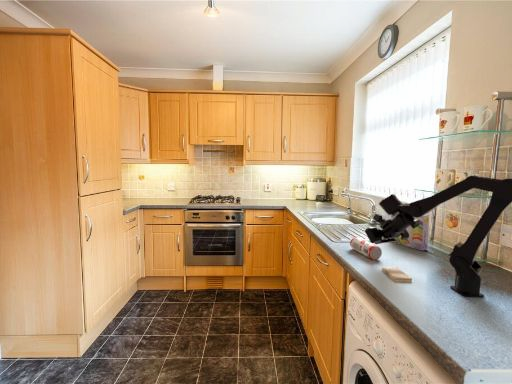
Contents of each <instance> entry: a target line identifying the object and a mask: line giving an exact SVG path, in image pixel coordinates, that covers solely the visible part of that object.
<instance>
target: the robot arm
mask: <svg viewBox="0 0 512 384" xmlns="http://www.w3.org/2000/svg"><path fill="white" fill-rule="evenodd" d="M473 189H477V190H482V191H484V192H485V191H486V192H489V193H491V197H490V200H489V204H488V205H487V207H486V209H485V211H484V212H483V214H482V215H481V217H480V218H479V220H478V221H477V223H476V225H475V226H474V227H473V229H472V231H471V232H470V234H469V235H468V237H467V238H466V240H465V241H464V242H463V243H462V242H461V241H458V242H457V243H456V244H454V246H453V249H452V251H451V252H450V253H448V256H449V259H448V260H449V263H450V265H451V266H452V268H454V271H455V276H454V278H455V279H454V285H450V286H449V287H450V288H451V289H452V290H454V291H455V292H457V293H458V294H460V295H461V296H463V297H467V298H468V297H471V298H484V297H485V294H483V293H481V283H482V277H481V276H480V274H481V272H482V271H483V269H484V268H483V267H484V266H483V267H482V265H481V264H480V263H479V262H478V261H477V257H478V254H479V250H480V247H481V245H482V244H483V242H484V241H485V239H486V238H487V236H488V235H489V233H490V232H491V231H492V229H493V227H494V226H495V224H496V223H497V222H498V220H499V219H500V217H501V215H502V214H503V213H504V211H505V210H506V209H507V207H508V206H510V205H511V204H512V177H507V178H503V179H499V178H494V177H484V176H480V175H477V174H475V175H474V174H473V175H469V176H467V177H465V178H464V179H462V180H460V181H458V182H457V183H454V184H453V185H451V186H449V187H447V188H444V189H443V190H441V191H439V192H437V193H435V194H433V195H431V196H428V197H426V198H425V197H424V198H421V199H418V200H415V201H412V202H410V203H402V201H401V200H400V199H398V197H397V196H396V194H394V193H392V194H390V195H389V196H387V197H385V198H384V199H382V200H380V201H379V203H378V205H379V206H380V207H381V208H382V210H384V212H383V211H382V212H377V213H375V214H373V217H372V219H373V221H375V222H376V223H378V224H379V228H377V227H376V226H371V227H367V228H365V230H364V232H365V234H366V236H367V239H368V240H369V243H371V244H374V245H380V244H386V243H391V242H392V243H394V242H393V241H395V239H394V238H398V237H399V236H400V235H401V236H402V237H401V240H406V239H408V238H409V233H408V232H407V230H406V228H408V227H409V226H411V227H412V228H413V229H414V228H416V227H418V226H419V220H417V219H415V218H418V217H421V216H424V215H429V213H430V212H432V211H433V210H434V209H436V208H437V207H438V206H440V205H441V204H443V203H446V202H448V201H451V200H452V199H454V198H456V197H459V196H461V195H463V194H464V193H468V192H469V191H471V190H473ZM397 213H399V214H398V215H397V216H395V217H394V218H393V219H392V217H391V214H392V215H393V216H394V215H396V214H397ZM414 217H415V218H414Z"/></svg>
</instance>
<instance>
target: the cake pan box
mask: <svg viewBox="0 0 512 384" xmlns="http://www.w3.org/2000/svg"><path fill="white" fill-rule="evenodd" d="M398 214H399V213H397V214H396V215H394V216H393V215H392V214H391V215H390V216H391V217H392V219H393V218H394V217H395V216H397V215H398ZM414 218H415V217H414ZM415 219H417V220H419V226H418V227H416V228H414V229H413V228H412V227H411V226H409V227H408V228H406V230H407V232H408V233H409V238H408V239H406V240H401V237H402V236H401V235H400V236H399V237H398V238H394V239H395V241H393V242H392V243H395V244H398V245H402V246H404V247H408V248H412V249H415V250H419V251H428V248H429V247H428V246H429V222H430V214H426V215H424V216H421V217H418V218H415Z"/></svg>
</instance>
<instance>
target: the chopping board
mask: <svg viewBox="0 0 512 384" xmlns="http://www.w3.org/2000/svg"><path fill="white" fill-rule="evenodd" d="M381 271H382V272H383V273H385V275H387V276H388V277H389V278H390V279H392V280H393V281H394V282H398V283H399V282H401V283H403V282H406V283H412V280H413V279H412V277H410V276H409V275H408V274H406V273H405V272H404V271H403V270H401V269H400V268H399V267H394V266H393V267H390V266H389V267H388V266H387V267H385V266H382V267H381Z"/></svg>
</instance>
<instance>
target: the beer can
mask: <svg viewBox="0 0 512 384" xmlns="http://www.w3.org/2000/svg"><path fill="white" fill-rule="evenodd" d="M349 241H350V242H349V246H350V247H351V249H353V250H354V251H356V252H357V253H359V254H361V255H363V256H365V257H366V258H369V259H370V260H373V261H377V260H379V259H380V258H381V257H382V254H383V252H382V251H383V250H382V248H381V247H379V246H378V245H377V244H375V243H371V242H370V241H367V240H365V239H363V238H360V237H352V238H351V239H350V240H349Z"/></svg>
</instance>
